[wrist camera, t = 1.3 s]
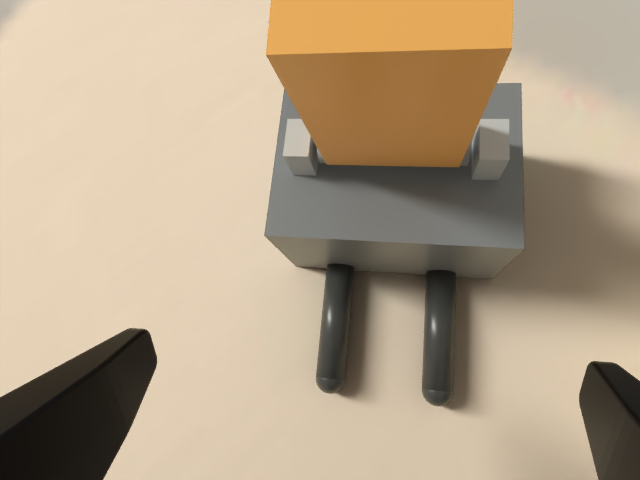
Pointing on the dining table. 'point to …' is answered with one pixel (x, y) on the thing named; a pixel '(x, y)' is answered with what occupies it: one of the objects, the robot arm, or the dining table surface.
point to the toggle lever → (390, 75)
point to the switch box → (400, 228)
